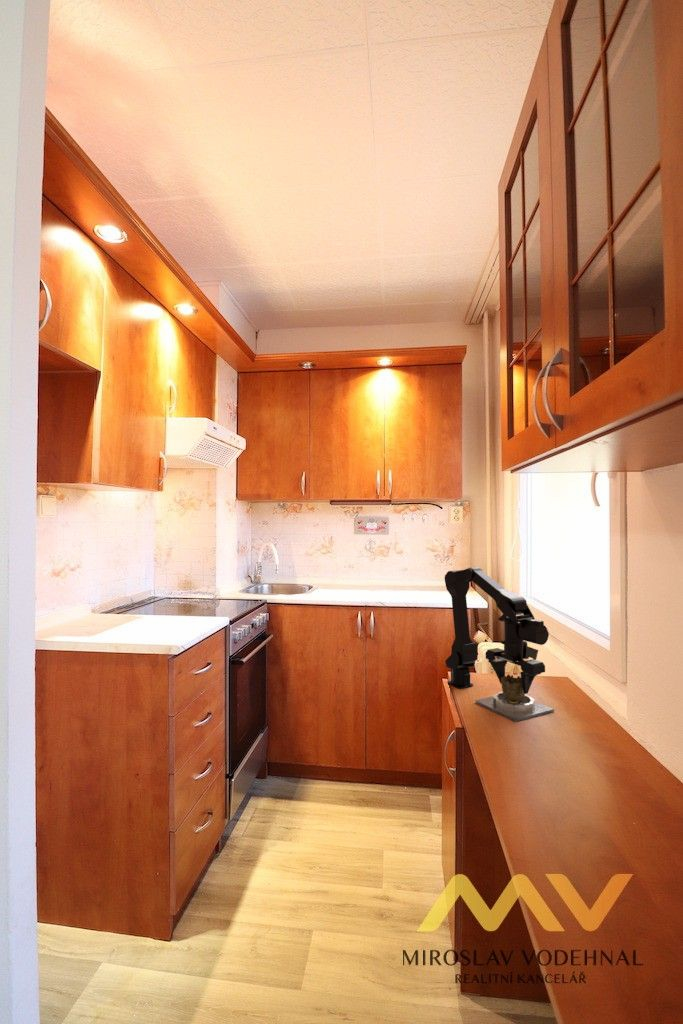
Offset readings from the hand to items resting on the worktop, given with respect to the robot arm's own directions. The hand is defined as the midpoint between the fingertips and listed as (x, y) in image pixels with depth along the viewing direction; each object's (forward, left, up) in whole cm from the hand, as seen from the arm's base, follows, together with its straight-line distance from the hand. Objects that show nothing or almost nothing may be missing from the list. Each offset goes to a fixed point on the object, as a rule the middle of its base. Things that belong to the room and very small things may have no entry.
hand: (513, 688), depth 146 cm
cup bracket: (0, 0, -6) cm, 6 cm away
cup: (0, 0, -5) cm, 5 cm away
